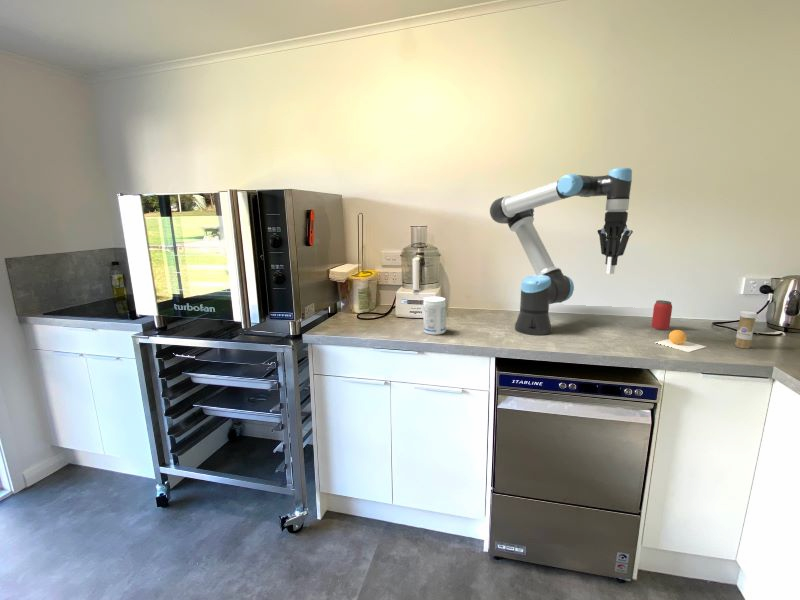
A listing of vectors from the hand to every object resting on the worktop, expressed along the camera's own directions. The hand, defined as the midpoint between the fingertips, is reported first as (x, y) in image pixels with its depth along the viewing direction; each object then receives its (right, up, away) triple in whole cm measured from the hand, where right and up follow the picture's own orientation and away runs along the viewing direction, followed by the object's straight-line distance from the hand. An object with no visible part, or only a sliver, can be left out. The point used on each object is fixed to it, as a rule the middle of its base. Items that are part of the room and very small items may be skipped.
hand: (610, 273), depth 150 cm
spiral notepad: (+25, -27, -3) cm, 37 cm away
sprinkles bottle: (+46, -28, -6) cm, 54 cm away
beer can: (+32, -23, +19) cm, 44 cm away
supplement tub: (-67, -24, +16) cm, 73 cm away
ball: (+24, -25, -3) cm, 35 cm away
